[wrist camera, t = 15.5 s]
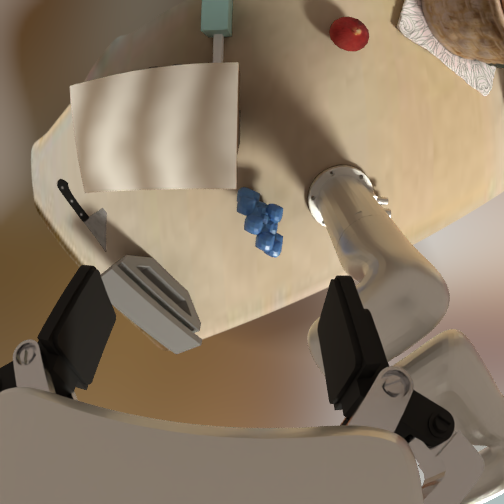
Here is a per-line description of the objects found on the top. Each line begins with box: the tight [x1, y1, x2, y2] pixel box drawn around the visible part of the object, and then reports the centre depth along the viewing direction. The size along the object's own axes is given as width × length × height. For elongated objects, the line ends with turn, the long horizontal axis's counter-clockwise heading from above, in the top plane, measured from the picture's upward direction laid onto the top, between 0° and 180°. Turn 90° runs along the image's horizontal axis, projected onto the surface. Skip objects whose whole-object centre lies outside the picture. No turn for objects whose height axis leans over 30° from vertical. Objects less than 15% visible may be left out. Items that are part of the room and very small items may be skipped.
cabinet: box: [70, 62, 240, 193], centre depth 32 cm, size 18×14×19 cm
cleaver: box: [57, 179, 107, 252], centre depth 53 cm, size 29×1×10 cm
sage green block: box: [201, 0, 233, 63], centre depth 32 cm, size 4×18×7 cm, turn 178°
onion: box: [329, 17, 369, 51], centre depth 29 cm, size 6×6×8 cm
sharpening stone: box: [101, 255, 202, 354], centre depth 57 cm, size 25×8×11 cm, turn 34°
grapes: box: [237, 187, 283, 257], centre depth 45 cm, size 12×7×12 cm, turn 34°
